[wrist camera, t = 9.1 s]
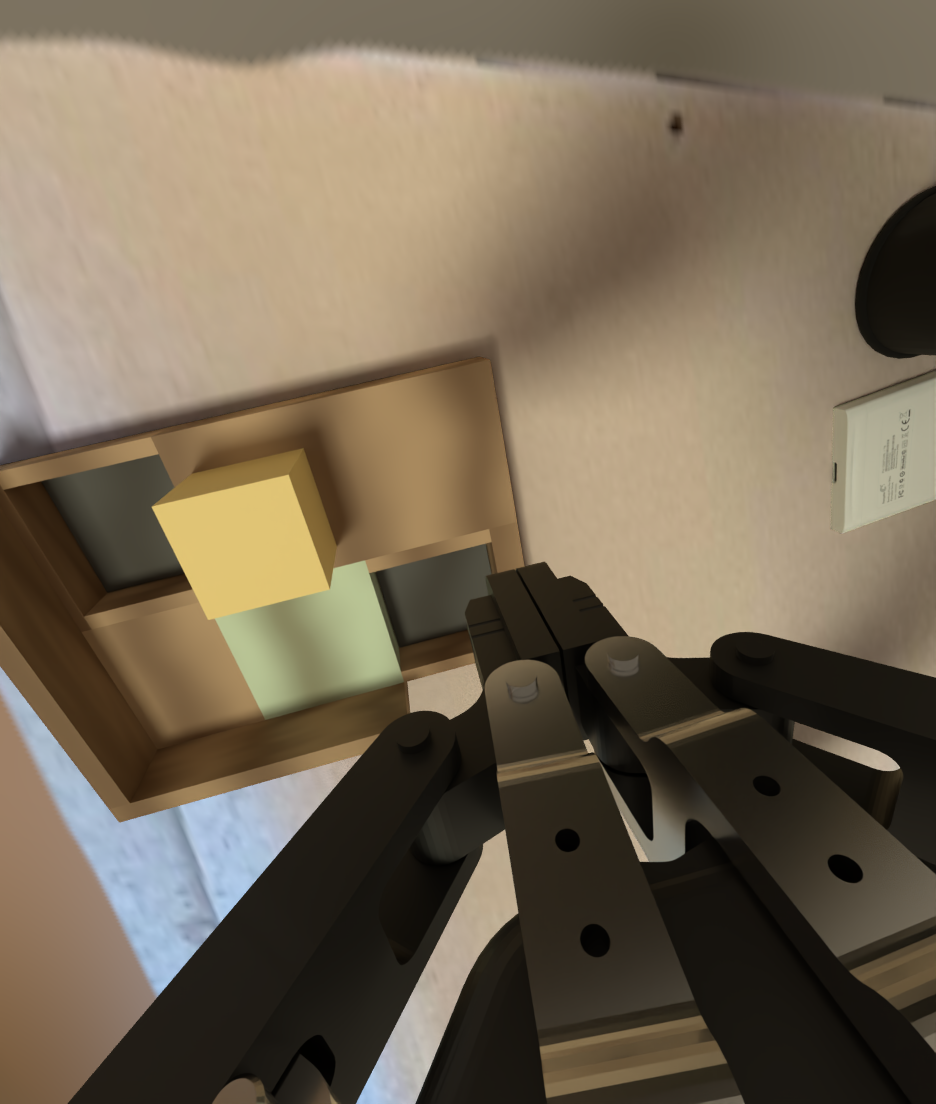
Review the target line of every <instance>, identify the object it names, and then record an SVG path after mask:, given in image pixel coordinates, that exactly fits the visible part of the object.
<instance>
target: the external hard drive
mask: <svg viewBox="0 0 936 1104" xmlns="http://www.w3.org/2000/svg"><path fill="white" fill-rule="evenodd" d="M832 462H833V481H832V487H831V529H832V530H834V531H836V532H839V533H841V534H843V533H846V532H848V531H851V530H854V529H857V528H859V527H862V526H864V525H867V524H870V523H873V522H876V521H878V520H881V519H884V518H887V517H889V516H892V515H895V514H898V513H901V512H903V511H906V510H909V509H912V508H914V507H917V506H920V505H922V504H925V503H928V502H931V501H933V500H936V371H933V372H930V373H927V374H925V375H922V376H919V377H917V378H914V379H911V380H908V381H906V382H903V383H900V384H897V385H894V386H892V387H889V388H886V389H884V390H881V391H878V392H875V393H873V394H870V395H867V396H864V397H862V398H859V399H856V400H854V401H851V402H847V403H845V404H842V405H839V406H837V407H834V408H833V443H832Z"/></svg>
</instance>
